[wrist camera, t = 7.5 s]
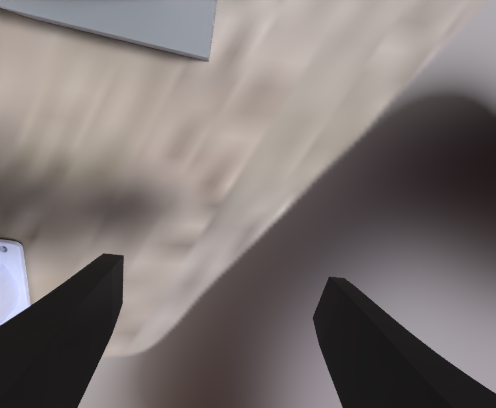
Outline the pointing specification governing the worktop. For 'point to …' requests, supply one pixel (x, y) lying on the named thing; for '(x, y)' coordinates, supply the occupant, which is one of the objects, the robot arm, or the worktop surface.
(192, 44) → the gray slab
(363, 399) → the robot arm
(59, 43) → the worktop surface
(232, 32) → the worktop surface
